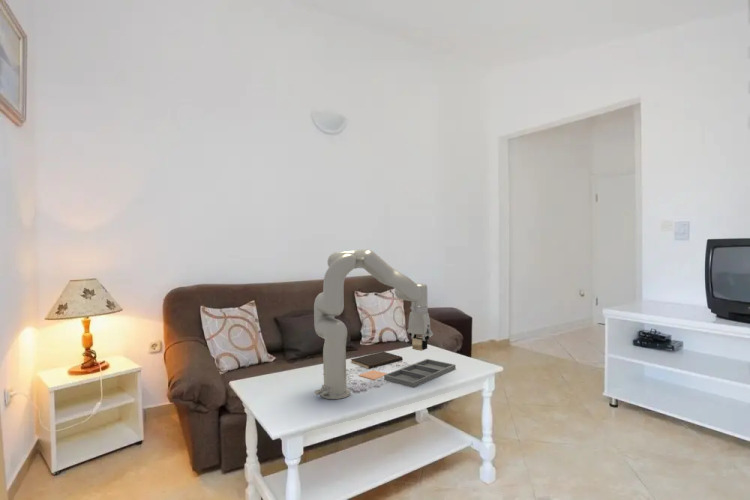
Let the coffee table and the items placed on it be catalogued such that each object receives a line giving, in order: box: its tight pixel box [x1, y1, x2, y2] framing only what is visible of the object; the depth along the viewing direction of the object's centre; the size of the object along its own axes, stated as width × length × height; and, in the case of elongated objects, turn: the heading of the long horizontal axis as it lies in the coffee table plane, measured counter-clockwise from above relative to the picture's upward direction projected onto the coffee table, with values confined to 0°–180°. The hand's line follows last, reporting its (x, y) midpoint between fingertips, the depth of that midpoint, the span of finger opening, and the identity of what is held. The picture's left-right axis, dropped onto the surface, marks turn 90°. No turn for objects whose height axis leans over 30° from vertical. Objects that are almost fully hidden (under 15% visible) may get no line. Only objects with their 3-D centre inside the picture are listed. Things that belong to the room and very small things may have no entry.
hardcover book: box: [350, 351, 403, 370], centre depth 221 cm, size 16×23×2 cm
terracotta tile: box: [358, 369, 388, 381], centre depth 197 cm, size 10×10×1 cm
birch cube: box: [411, 336, 426, 352], centre depth 196 cm, size 5×5×5 cm
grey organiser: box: [383, 358, 457, 389], centre depth 197 cm, size 34×17×2 cm, turn 137°
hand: (419, 347), depth 196 cm, fingers closed on birch cube, 4 cm apart
